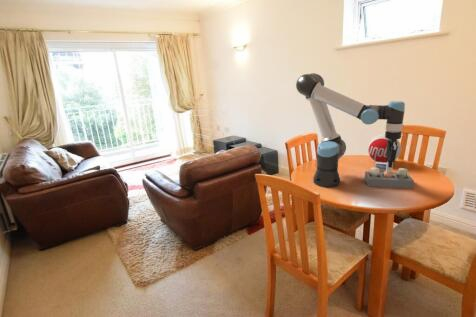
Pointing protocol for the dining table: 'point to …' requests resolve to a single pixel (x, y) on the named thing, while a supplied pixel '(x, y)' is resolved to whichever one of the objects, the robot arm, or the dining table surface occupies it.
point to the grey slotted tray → (388, 180)
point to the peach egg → (388, 174)
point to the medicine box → (381, 166)
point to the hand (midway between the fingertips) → (388, 172)
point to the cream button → (374, 171)
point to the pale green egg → (402, 172)
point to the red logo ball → (381, 148)
